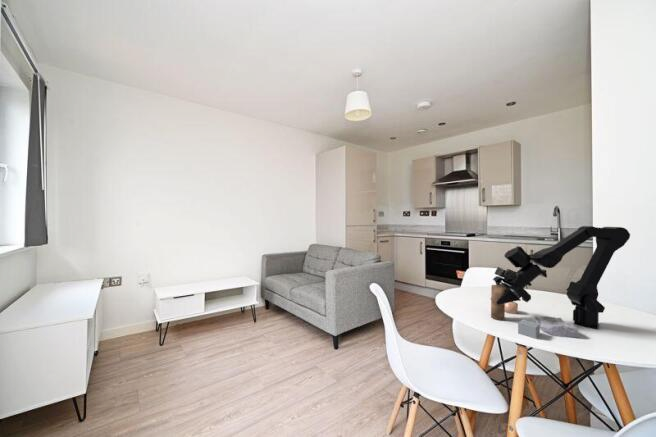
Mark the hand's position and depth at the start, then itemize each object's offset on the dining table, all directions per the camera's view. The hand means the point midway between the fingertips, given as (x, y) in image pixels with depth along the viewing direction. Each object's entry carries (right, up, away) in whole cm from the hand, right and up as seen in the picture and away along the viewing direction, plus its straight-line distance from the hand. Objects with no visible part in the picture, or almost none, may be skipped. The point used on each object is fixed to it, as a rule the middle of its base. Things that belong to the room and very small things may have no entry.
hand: (494, 301), depth 107 cm
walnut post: (+1, -7, 0) cm, 7 cm away
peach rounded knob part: (+12, -7, +7) cm, 16 cm away
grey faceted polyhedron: (+3, -7, -15) cm, 16 cm away
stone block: (+15, -7, -11) cm, 20 cm away
